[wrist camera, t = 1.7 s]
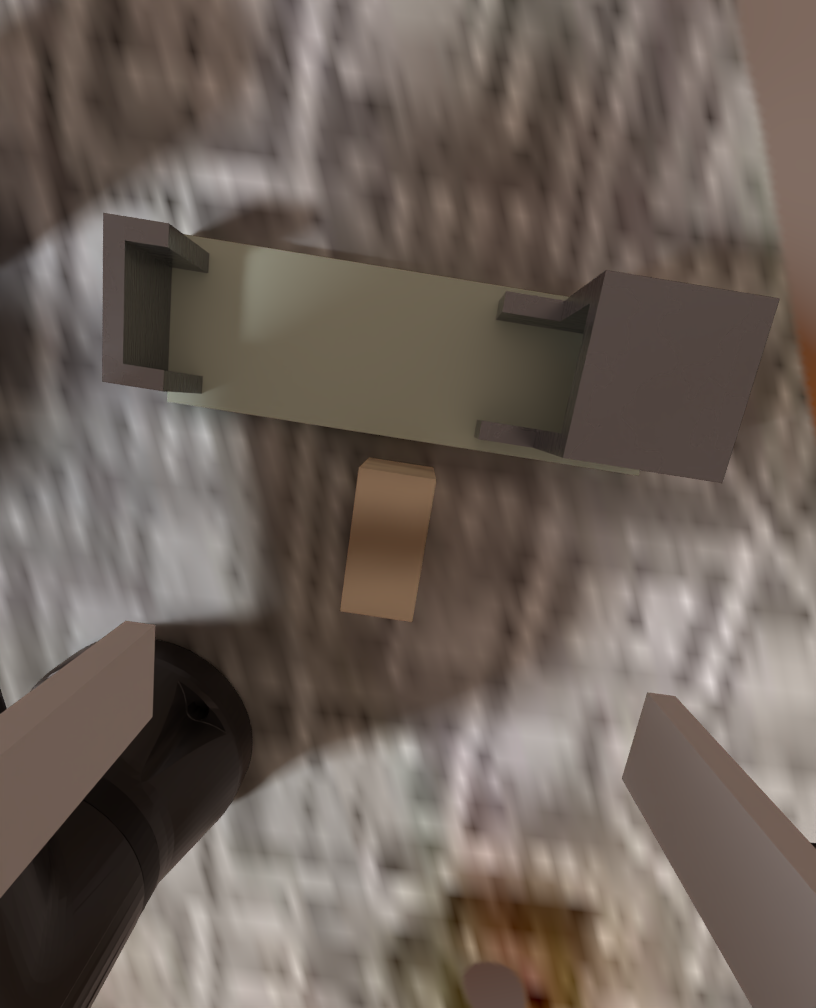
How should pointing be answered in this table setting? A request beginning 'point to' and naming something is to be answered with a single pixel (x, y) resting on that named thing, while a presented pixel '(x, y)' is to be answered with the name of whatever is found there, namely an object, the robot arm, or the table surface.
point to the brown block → (387, 538)
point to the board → (366, 349)
